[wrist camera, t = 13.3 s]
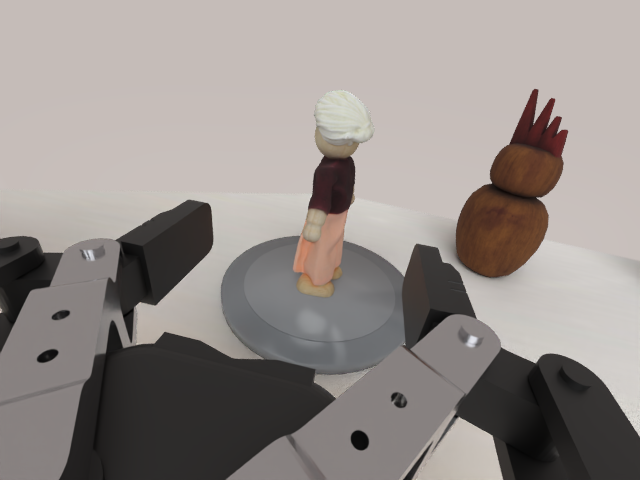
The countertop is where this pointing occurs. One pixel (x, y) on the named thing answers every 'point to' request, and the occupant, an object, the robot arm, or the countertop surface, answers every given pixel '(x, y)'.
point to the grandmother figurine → (331, 190)
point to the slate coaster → (315, 309)
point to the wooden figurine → (513, 197)
